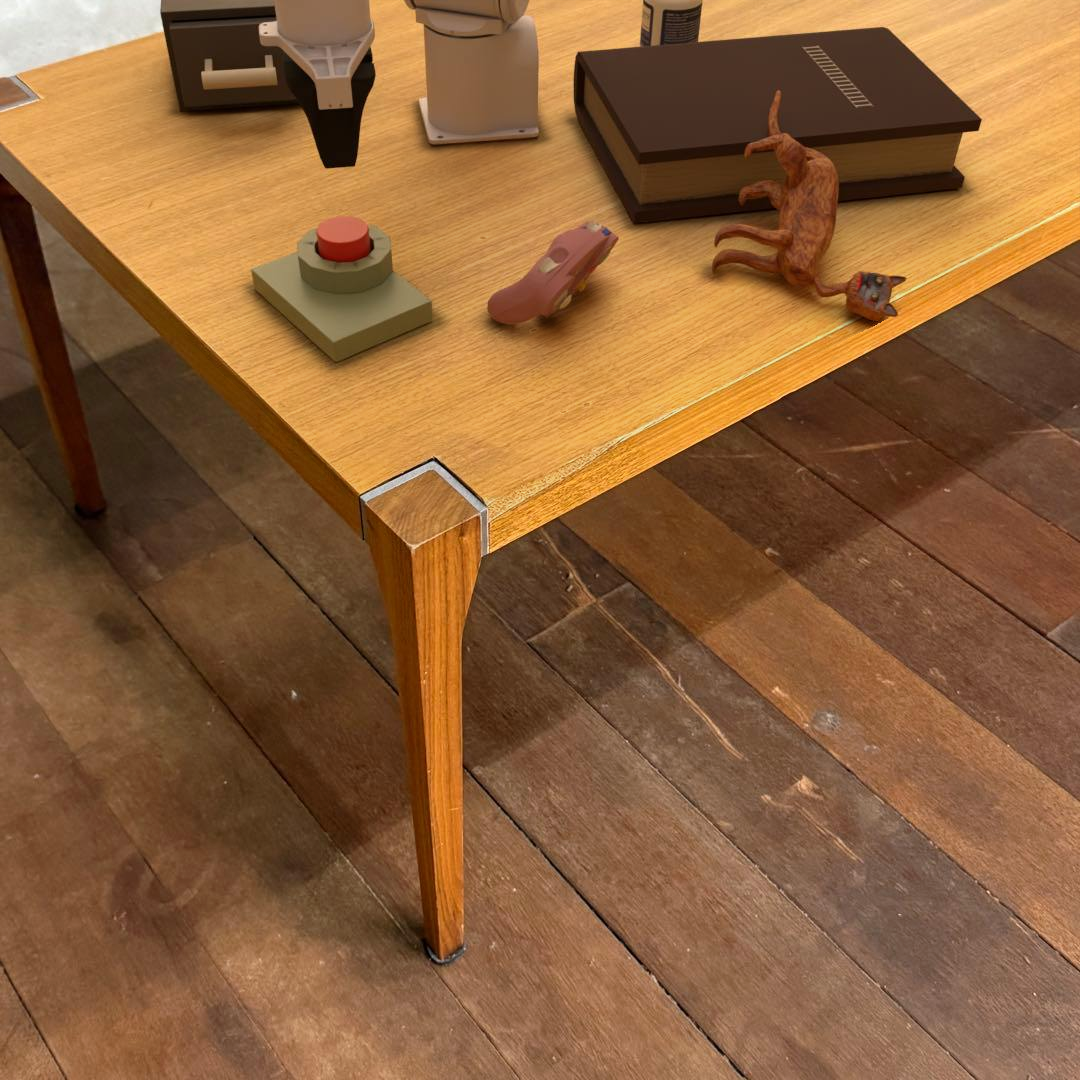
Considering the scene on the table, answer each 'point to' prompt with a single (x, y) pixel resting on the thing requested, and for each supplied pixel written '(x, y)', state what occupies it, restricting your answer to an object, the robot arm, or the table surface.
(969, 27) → the table surface
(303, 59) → the robot arm
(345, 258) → the button
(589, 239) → the pink pronged piece
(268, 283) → the olive button base
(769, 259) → the cat figurine
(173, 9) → the cabinet
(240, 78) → the drawer
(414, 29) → the table surface
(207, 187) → the table surface
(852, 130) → the book
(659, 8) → the pill bottle
